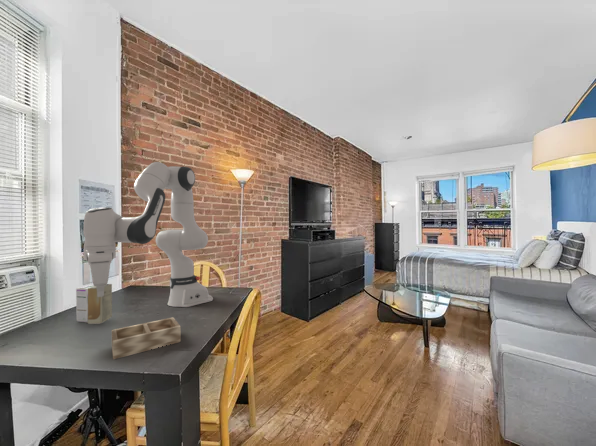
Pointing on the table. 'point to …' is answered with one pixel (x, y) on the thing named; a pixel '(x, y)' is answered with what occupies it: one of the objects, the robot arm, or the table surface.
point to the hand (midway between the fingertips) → (100, 293)
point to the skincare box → (99, 305)
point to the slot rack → (145, 337)
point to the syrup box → (82, 303)
